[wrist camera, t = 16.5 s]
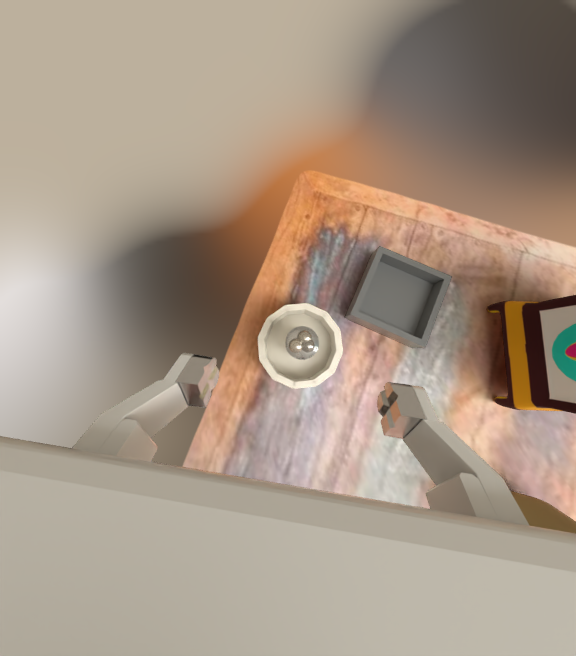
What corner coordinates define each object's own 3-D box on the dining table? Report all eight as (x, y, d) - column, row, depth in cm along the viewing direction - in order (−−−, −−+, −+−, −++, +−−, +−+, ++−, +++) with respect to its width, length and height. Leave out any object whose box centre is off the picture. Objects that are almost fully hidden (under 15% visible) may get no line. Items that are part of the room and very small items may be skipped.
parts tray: (412, 348, 37) (425, 347, 33) (344, 317, 38) (350, 314, 34) (437, 283, 38) (451, 276, 35) (371, 255, 39) (379, 245, 35)
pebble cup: (305, 362, 36) (311, 365, 27) (281, 351, 36) (279, 351, 27) (316, 338, 36) (325, 333, 27) (292, 328, 36) (294, 319, 27)
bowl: (317, 396, 36) (321, 402, 31) (249, 364, 36) (244, 365, 32) (346, 327, 37) (354, 324, 33) (280, 298, 38) (279, 290, 33)
